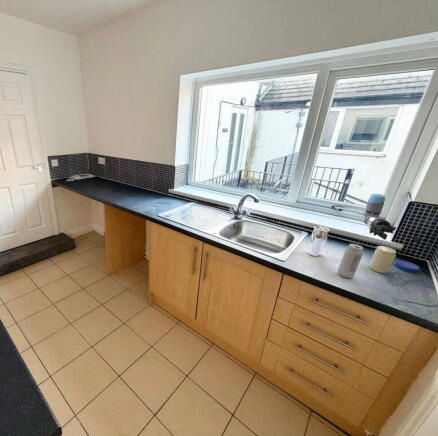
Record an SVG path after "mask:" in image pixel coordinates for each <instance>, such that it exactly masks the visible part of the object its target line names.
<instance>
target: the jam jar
mask: <svg viewBox="0 0 438 436" xmlns="http://www.w3.org/2000/svg"><path fill="white" fill-rule="evenodd" d="M396 254H397V250H395V249H394V248H391V247H388V246H385V245H384V246H383V245H377V246H376V249H375V250H374V252H373V254H372V257H371V260H370V262H369V265H368V268H369V269H371V270H373V271H374V272H377V273H381V274H389V273H390V271H391V268H392V266H393V263H394V261H395V259H396Z"/></svg>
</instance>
